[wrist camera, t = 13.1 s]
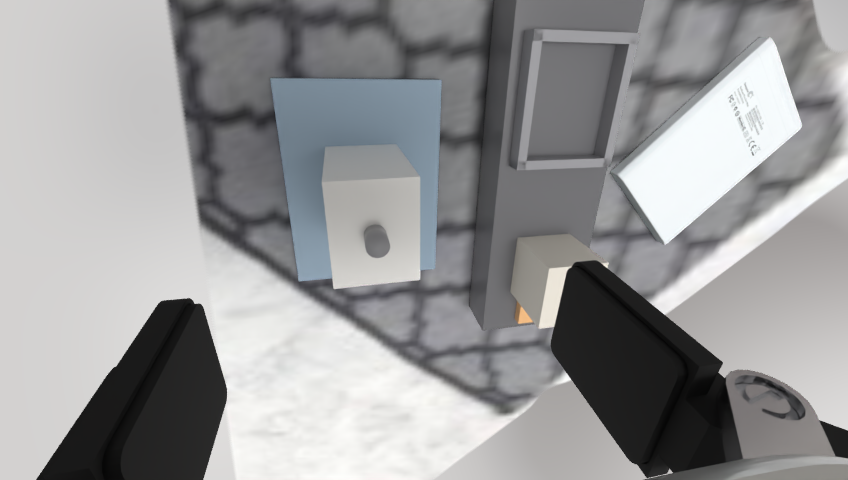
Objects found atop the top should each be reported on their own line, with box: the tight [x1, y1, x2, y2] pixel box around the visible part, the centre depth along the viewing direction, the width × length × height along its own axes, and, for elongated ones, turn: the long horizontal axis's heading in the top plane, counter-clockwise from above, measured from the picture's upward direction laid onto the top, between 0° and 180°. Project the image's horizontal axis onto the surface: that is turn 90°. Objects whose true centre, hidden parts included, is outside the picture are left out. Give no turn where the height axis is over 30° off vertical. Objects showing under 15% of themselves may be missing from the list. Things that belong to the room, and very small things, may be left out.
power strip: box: [469, 0, 645, 331], centre depth 21 cm, size 26×7×7 cm, turn 179°
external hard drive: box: [610, 37, 802, 245], centre depth 28 cm, size 2×8×12 cm
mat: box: [270, 78, 442, 281], centre depth 23 cm, size 12×9×1 cm
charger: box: [322, 144, 420, 289], centre depth 19 cm, size 5×4×8 cm
